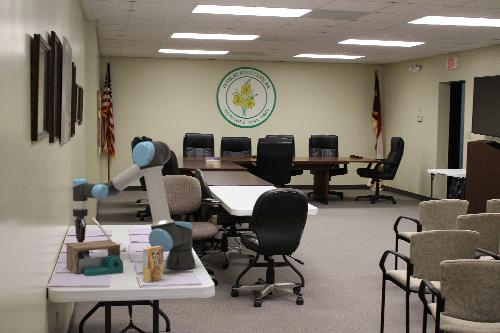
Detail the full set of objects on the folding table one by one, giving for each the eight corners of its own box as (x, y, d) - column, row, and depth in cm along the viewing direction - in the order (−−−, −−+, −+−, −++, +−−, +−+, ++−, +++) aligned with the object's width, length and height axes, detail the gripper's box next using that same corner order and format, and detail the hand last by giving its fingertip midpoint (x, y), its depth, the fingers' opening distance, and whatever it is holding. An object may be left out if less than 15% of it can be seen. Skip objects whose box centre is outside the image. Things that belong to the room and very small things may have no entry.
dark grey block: (117, 269, 319) (117, 250, 318) (78, 273, 309) (78, 254, 308) (99, 258, 342) (99, 241, 341) (63, 262, 332) (63, 244, 331)
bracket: (118, 270, 319) (118, 254, 318) (123, 273, 313) (123, 257, 313) (82, 274, 310) (82, 257, 309) (86, 277, 304) (86, 260, 304)
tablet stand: (94, 254, 357) (94, 223, 356) (88, 245, 380) (88, 216, 379) (126, 252, 363) (127, 222, 362) (119, 244, 387) (119, 215, 386)
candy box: (157, 277, 304) (157, 245, 303) (163, 279, 301) (163, 246, 300) (142, 280, 298) (142, 248, 297) (148, 282, 295) (148, 249, 294)
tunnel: (120, 269, 320) (120, 245, 319) (75, 274, 308) (75, 249, 307) (109, 263, 333) (109, 239, 332) (66, 267, 322) (66, 243, 321)
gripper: (91, 209, 334) (91, 254, 335) (83, 206, 345) (83, 250, 347) (76, 210, 330) (76, 256, 332) (69, 207, 341) (69, 251, 343)
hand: (80, 253), depth 339 cm, fingers closed
